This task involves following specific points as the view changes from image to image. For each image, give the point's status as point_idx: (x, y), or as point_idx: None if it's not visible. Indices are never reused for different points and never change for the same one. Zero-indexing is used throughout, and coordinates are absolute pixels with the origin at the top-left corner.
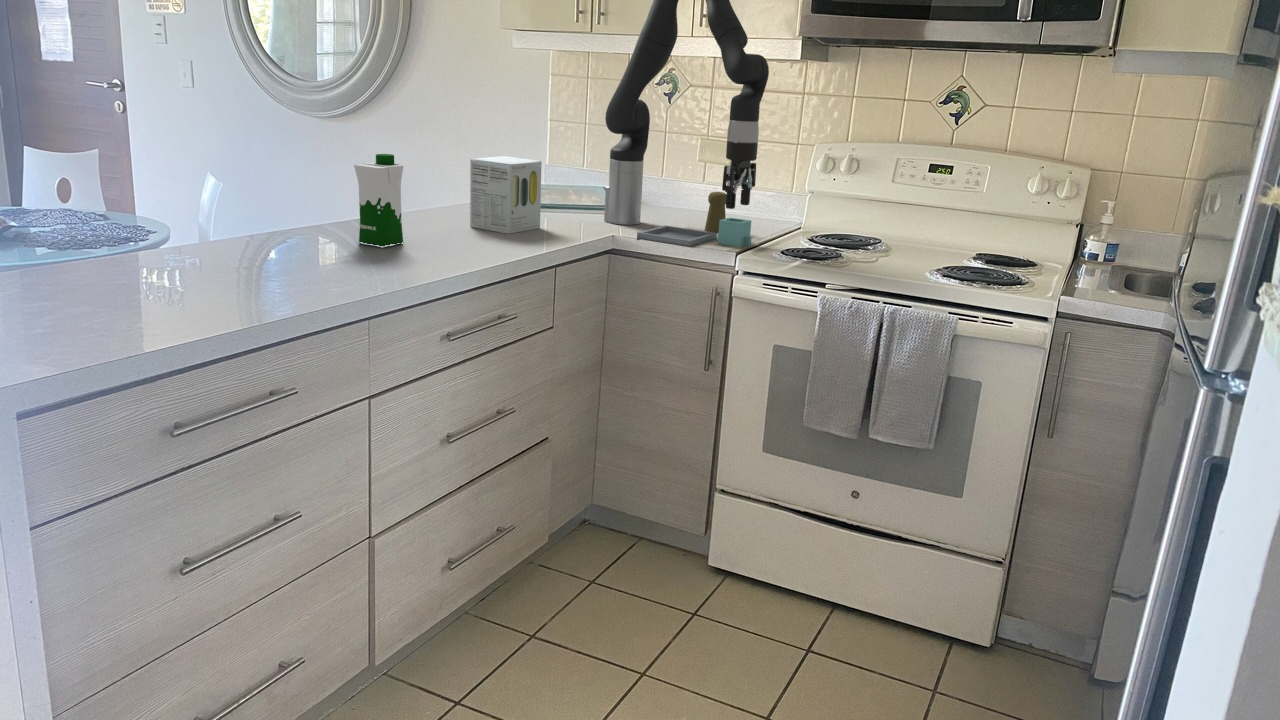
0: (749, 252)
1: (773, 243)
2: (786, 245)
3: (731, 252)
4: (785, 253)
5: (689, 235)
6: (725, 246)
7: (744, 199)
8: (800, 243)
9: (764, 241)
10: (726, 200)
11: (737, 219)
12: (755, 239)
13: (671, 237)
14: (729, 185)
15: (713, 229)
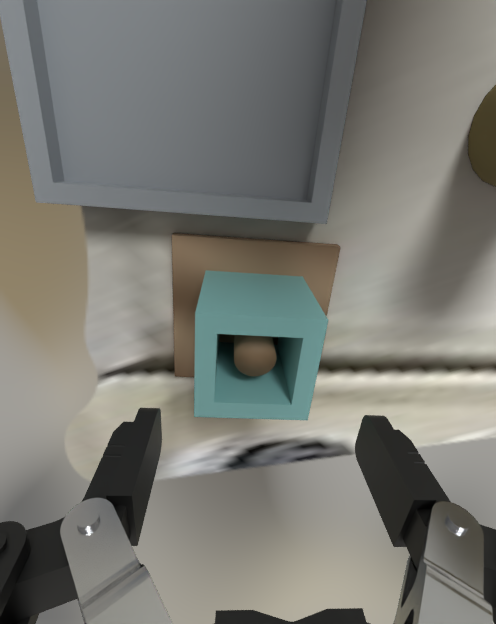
0: (190, 385)
1: (398, 389)
2: None
3: (142, 345)
4: (257, 455)
5: (295, 74)
6: (181, 312)
7: (374, 459)
8: (443, 440)
9: (419, 358)
10: (105, 453)
11: (297, 366)
12: (443, 323)
13: (25, 71)
14: (105, 582)
15: (489, 137)
